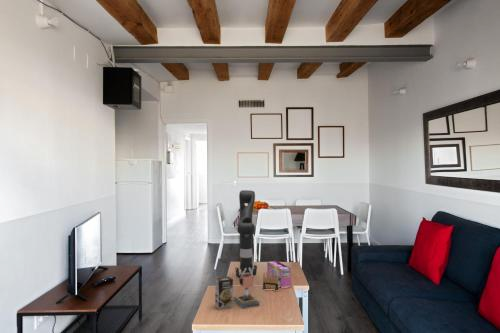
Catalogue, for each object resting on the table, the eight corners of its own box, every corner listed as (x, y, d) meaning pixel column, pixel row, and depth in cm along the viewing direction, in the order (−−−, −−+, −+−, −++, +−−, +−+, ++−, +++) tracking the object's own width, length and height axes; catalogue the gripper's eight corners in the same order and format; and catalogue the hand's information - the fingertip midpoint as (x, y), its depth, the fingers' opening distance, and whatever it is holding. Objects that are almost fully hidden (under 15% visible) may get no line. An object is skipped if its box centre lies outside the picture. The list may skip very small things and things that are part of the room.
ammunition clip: (278, 290, 204) (278, 272, 205) (278, 291, 202) (278, 273, 203) (263, 288, 207) (263, 271, 208) (262, 289, 205) (262, 272, 206)
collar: (239, 284, 185) (239, 274, 185) (248, 283, 187) (248, 273, 188) (243, 287, 179) (243, 277, 180) (252, 286, 182) (252, 276, 182)
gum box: (266, 279, 228) (266, 260, 229) (275, 277, 232) (275, 259, 232) (281, 289, 206) (281, 269, 207) (291, 287, 209) (291, 267, 210)
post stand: (233, 300, 187) (233, 285, 187) (249, 297, 191) (249, 283, 192) (242, 308, 174) (242, 292, 175) (259, 305, 179) (259, 290, 179)
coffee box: (218, 309, 173) (218, 281, 174) (214, 305, 178) (214, 278, 179) (233, 306, 177) (233, 278, 178) (228, 302, 183) (228, 275, 184)
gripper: (254, 253, 191) (254, 280, 190) (233, 255, 185) (233, 283, 184) (259, 255, 184) (259, 283, 183) (237, 258, 178) (237, 287, 177)
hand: (246, 283), depth 183 cm, fingers closed on collar, 6 cm apart
